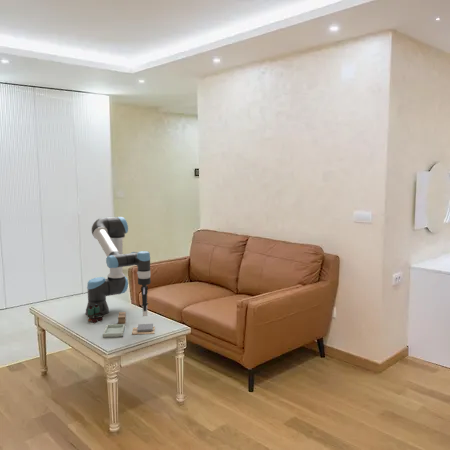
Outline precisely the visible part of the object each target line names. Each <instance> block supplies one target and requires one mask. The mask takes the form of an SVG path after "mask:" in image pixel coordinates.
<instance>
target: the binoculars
mask: <svg viewBox="0 0 450 450" xmlns="http://www.w3.org/2000/svg"><path fill="white" fill-rule="evenodd" d="M89 307H90V308H89V309H88V315H87V318H88V322H91V323H97V322H101V321H103V320H104V319H103V318H104V317H105V316H104V315H105V314H103V313H100V309H99V306H98V303H96V304H95V307H93V306H92V305H89ZM92 307H93V308H92ZM100 314H101V315H100Z"/></svg>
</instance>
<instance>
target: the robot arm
mask: <svg viewBox="0 0 450 450" xmlns="http://www.w3.org/2000/svg"><path fill="white" fill-rule="evenodd" d="M128 232H129V225H128V221H127V220H126V218H125V217H123V216H110V217H109V216H108V217H99V218H98V219H96V220H95V221H94V222H93V223H92V226H91V234H92V236H93V238H94V239H95V240H97V242H98V244H99V245H100V247H101V248H102V250H103V252H104V254H105V255H106V259H105V261H106V262H105V263H106V266H107V267H108V268H109V273H108V274H107V278H106V277H103V276H99V277H97V276H96V277H94V278H91V279H89V280H88V281H87V287H86V289H87V305H86V308H85V315H87V316H88V309H89V308H90V307H89V305H92V306H93V307H95V304H96V303H98V306H99V309H100V313H103V314H104V315H107V314H108V313H110V308H109V305H108V303H107V297H110V296H115V295H122V294H125V293H126V292H127V290H128V288H129V279H128V277H126V274H124V272H123V269H124V267H132V266H133V267H134V266H136V267H137V272H136V274H137V285H139V286H140V291H141V293H140V294H141V301H142V302H141V303H142V304H141V307H142V317H148V305H149V303H148V289H149V286H148V285H150V284H151V282H152V280H151V271H152V270H151V253H150V252H149V251H146V250H143V251H142V250H141V251H132V252H130V253H124V252H123V248H124V246H123V242H124V241H123V239H124V238H125V237H126V234H127V233H128ZM123 253H124V254H123ZM93 307H92V308H93ZM99 316H102V315H101V314H100V315H99Z"/></svg>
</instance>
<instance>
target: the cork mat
mask: <svg viewBox="0 0 450 450" xmlns="http://www.w3.org/2000/svg"><path fill="white" fill-rule="evenodd" d="M137 328H138V326H137V327H133V328H132V331H131V335H132V336H133V335H134V336H135V335H137V334H139V335H154V334H155V329H156V328H155V326H153V331H146V332H137ZM137 336H138V335H137Z"/></svg>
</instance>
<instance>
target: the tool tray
mask: <svg viewBox="0 0 450 450" xmlns="http://www.w3.org/2000/svg"><path fill="white" fill-rule="evenodd" d="M125 330H126V324H118V323H115V324H112V323H111V324H106V325H105V328H104V330H103V333H102V338H104V339H106V338H123V336H124V332H125Z"/></svg>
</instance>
